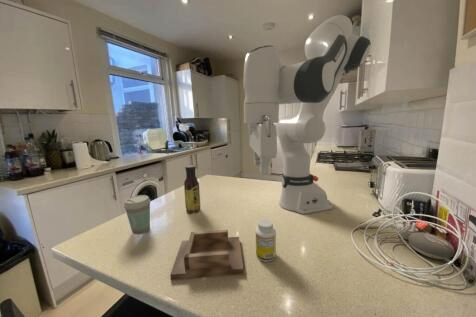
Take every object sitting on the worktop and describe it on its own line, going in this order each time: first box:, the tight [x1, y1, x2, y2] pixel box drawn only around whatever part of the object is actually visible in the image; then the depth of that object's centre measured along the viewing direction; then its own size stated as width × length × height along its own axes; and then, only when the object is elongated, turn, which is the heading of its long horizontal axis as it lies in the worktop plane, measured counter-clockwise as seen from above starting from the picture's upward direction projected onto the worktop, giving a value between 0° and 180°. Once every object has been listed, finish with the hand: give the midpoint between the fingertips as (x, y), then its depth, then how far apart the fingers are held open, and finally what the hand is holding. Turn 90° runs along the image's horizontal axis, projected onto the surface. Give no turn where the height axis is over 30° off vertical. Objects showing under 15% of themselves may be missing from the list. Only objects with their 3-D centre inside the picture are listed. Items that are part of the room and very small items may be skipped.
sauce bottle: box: [183, 164, 201, 215], centre depth 85 cm, size 7×6×20 cm
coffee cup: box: [123, 194, 151, 235], centre depth 72 cm, size 8×8×12 cm
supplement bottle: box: [255, 219, 277, 262], centre depth 56 cm, size 6×6×10 cm
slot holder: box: [169, 229, 244, 281], centre depth 56 cm, size 18×14×5 cm
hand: (260, 169), depth 53 cm, fingers open, 8 cm apart
